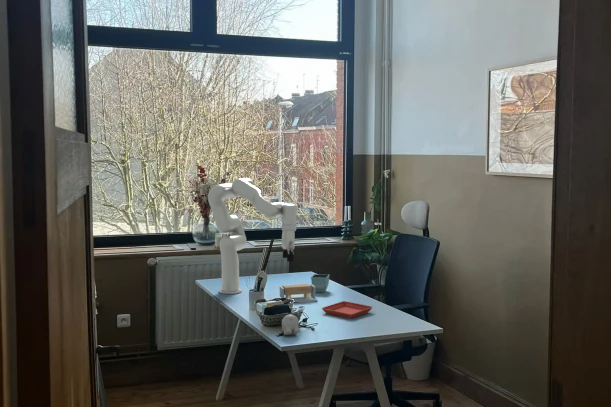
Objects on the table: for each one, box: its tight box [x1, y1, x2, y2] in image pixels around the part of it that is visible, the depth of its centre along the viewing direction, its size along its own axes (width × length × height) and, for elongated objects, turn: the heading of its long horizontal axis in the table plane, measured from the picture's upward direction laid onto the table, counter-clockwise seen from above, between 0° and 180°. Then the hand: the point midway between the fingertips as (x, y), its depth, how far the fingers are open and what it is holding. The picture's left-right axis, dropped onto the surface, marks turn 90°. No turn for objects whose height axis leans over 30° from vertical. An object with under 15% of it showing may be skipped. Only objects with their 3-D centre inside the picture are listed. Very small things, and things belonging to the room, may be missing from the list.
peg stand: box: [279, 283, 318, 303], centre depth 336 cm, size 13×18×7 cm
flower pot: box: [310, 273, 330, 293], centre depth 355 cm, size 9×9×9 cm
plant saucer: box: [321, 300, 373, 320], centre depth 309 cm, size 18×18×3 cm
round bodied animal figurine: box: [281, 314, 301, 336], centre depth 274 cm, size 7×12×8 cm, turn 19°
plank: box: [281, 283, 311, 296], centre depth 336 cm, size 6×14×4 cm, turn 108°
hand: (287, 259), depth 337 cm, fingers open, 9 cm apart
